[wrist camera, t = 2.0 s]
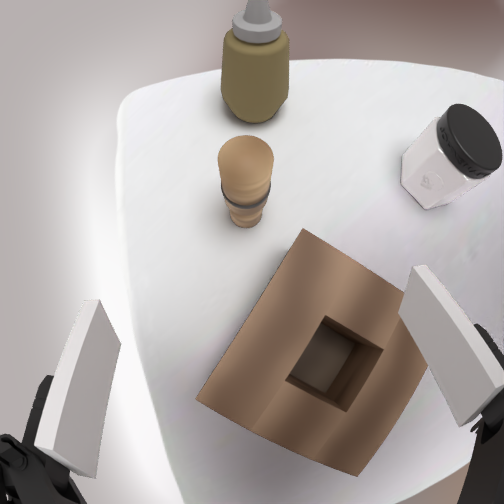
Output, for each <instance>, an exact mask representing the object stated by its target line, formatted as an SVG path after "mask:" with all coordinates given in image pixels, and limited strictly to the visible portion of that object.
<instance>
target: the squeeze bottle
mask: <svg viewBox="0 0 504 504" xmlns="http://www.w3.org/2000/svg"><path fill="white" fill-rule="evenodd" d="M232 22H233V28H232V29H231V30H229V31H228V32H227V33H226V35H225V38H224V44H223V60H222V75H221V92H222V96H223V99H224V100H225V102H226V103H227V105H228V106H229V108H230V109H231V111H232V112H233V113H234V114H235V115H236V116H237V118H239V119H241V120H243V121H245V122H251V123H259V122H264V121H266V120H268V119H270V118H272V117H273V115H274V114H275V113H276V111H277V110H278V109H279V108H280V106H281V105H282V104H283V103H284V101H285V100H286V99H287V97H288V90H289V38H288V36H287V34H286V33H285V32H284V31H283V30H281V27H282V19H281V17H280V16H279V15H278V14H276V13H275V12H273V11H270V7H269V3H268V0H248V3H247V7H246V10H243V11H240V12H238V13H237V14H236V15H234V17H233V20H232Z"/></svg>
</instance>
